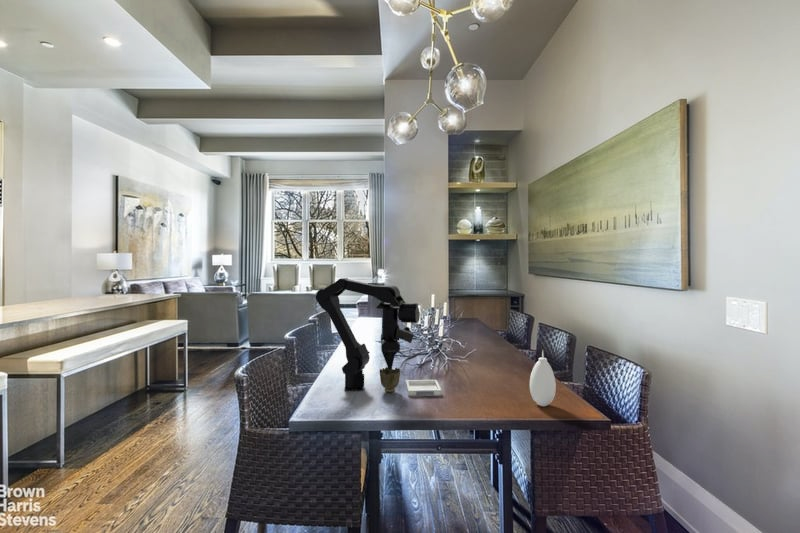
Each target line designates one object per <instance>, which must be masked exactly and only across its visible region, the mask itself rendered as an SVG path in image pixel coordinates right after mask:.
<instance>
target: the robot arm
mask: <svg viewBox="0 0 800 533" xmlns="http://www.w3.org/2000/svg"><path fill="white" fill-rule="evenodd" d="M345 291H349V292H354V293H357V294H362V295H366V296H371V297H373V298H375V299H377V300H378V301H380V303H379V304H378V305H377V306H375V308H376V309H380V310H381V334H380V343H381V347H380V348H381V349H380V351H381V353H382V356H383V358H384V361H385V363H386V367H388V369H393V365H394V361H395V360H394V359H395V356H396V355H397V354H398V353H399V352H400V351H401V344H400V342H399V341H400V340H402V341H405V342H407V343H409V344H412V341H413V339H414V336H415V334H414V332H413V331H411V328H410V327H409V326H405V327H404V328H402V327H400V325H399V321H400V322H401V323H409V324H418V323H419V321H420V316H421V312H420V308H419V304H418V303H416V302H414V303H408V302H407V303H406V301H405V300H404V298H403V297H402V295H401V291H400V289H399V288H398V287H397V286H396V285H376V284H372V283H371V284H370V283H367V282H362V281H358V280H355V279H349V278H347V277H342V278H339V279H337V280H336V281H335V282H333V283H332V284H330V285H328V286H326V287H325V288H321V289H319V290H318V291H317V292H316V295H315V300H316V302H317V303H318V305H319V307H321V309H322V310H324V311H325V313H327V314H328V316H329V318H330V320H331V322H332V324H333V326H334V328H335V330H336V332H337V333H338V336H339V338H340V339H341V342H342V344H343V346H344V348H345V358H346V361H347V362H346V363H345V364H344V365H343V366H342V367H341V372H342V374H344V376H345V377H344V388H343V389H344V391H364V390H363V389H364V387H365V374H364V372H363V371H364V369H365V367H366V365H367V364H368V363H369V361H370V357H371V356H370V351H369V350H368V348H367V345H366V344H365V343H362V344H361V343H359V342H358V341H357V339H356V337H355V335H354V333H353V331H352V329H351V327H350V325H349V323H348V321H347V319H346V317H345V315H344V313H343V311H342V309H341V307H340V306H341V304H340V302H341V301H340V298H339V296H340V295H341V294H344V292H345Z"/></svg>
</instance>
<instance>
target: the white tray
mask: <svg viewBox="0 0 800 533" xmlns="http://www.w3.org/2000/svg"><path fill="white" fill-rule="evenodd" d="M405 389H406V392H407V397H442V396H443V394H442V393H443V392H442V391H443V389H442V388H441V386H440V384H439V382H438V380H437V379H405Z"/></svg>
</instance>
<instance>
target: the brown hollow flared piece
mask: <svg viewBox="0 0 800 533" xmlns="http://www.w3.org/2000/svg"><path fill="white" fill-rule="evenodd" d="M400 376H401V369H400V368H398V367H395V368H394V369H393V368H392V369H388V366H386V367H385V368H384V367H382V368H380V369H379V378H380V383H381V386H382V387H383V388H384V392H385V393H387V394H393V393H394V392H396V388H397V387H398V386H399V383H400Z"/></svg>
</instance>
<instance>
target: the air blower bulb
mask: <svg viewBox="0 0 800 533" xmlns="http://www.w3.org/2000/svg"><path fill="white" fill-rule="evenodd" d="M531 370H532V371H531V373H530V377H529V392H530V395H531V398H532V400H533V402H536V404H537V405H539V406H540V407H546V406H549V404H551V403H552V402H553V401H554V398H555V396H556V391H557V390H556V389H557V388H556V386H557V385H556V383H557V382H556V377H555V373H554V371H553V368H552V365H551V364H550V363H549V362H548V359H547V358H546V357H545V356H544V350H542V352H541V357H538V361H536V363H535V364H534V365H533V367H532V369H531Z"/></svg>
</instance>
